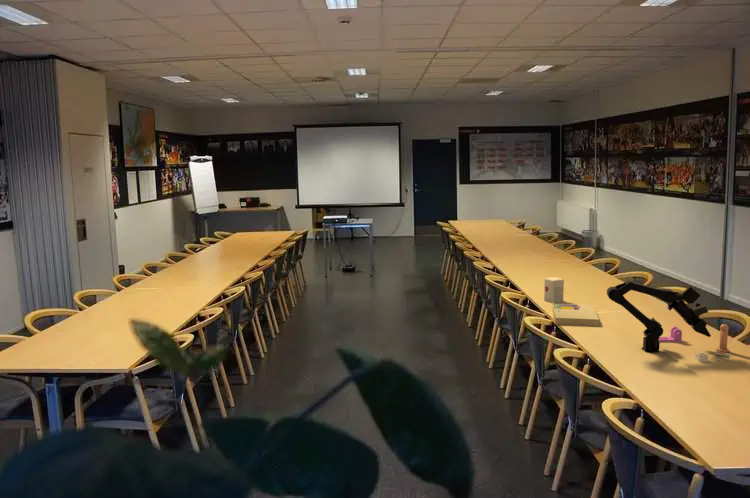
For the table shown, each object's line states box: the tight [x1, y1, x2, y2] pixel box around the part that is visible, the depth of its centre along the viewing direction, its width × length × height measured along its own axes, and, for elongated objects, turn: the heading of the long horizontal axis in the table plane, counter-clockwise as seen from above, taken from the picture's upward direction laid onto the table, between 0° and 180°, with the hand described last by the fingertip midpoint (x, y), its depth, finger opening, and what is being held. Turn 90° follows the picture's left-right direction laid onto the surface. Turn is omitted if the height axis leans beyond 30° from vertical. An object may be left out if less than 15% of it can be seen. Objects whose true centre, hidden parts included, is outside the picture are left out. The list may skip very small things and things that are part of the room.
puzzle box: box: [552, 303, 600, 327], centre depth 378 cm, size 36×5×24 cm
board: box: [714, 348, 731, 362], centre depth 300 cm, size 20×6×1 cm, turn 150°
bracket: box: [659, 325, 683, 343], centre depth 328 cm, size 13×6×7 cm, turn 83°
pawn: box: [717, 323, 730, 353], centre depth 305 cm, size 5×5×13 cm
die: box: [694, 352, 709, 363], centre depth 294 cm, size 4×4×4 cm
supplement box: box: [543, 276, 565, 304], centre depth 419 cm, size 9×9×15 cm
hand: (707, 333), depth 306 cm, fingers open, 9 cm apart
